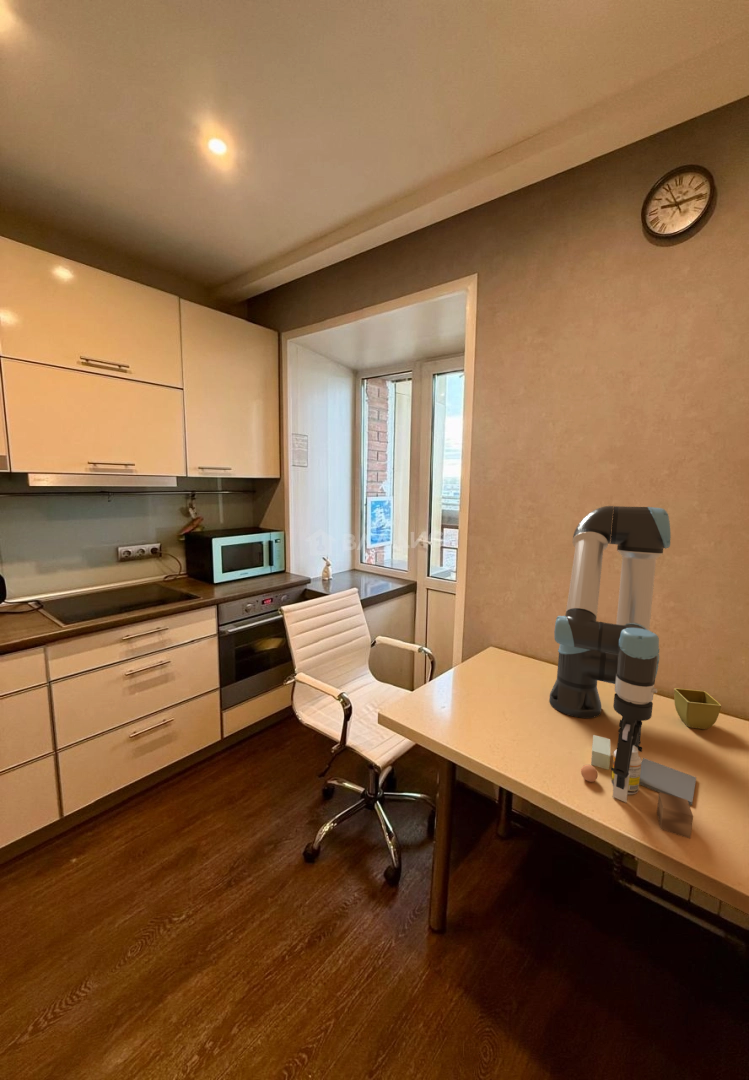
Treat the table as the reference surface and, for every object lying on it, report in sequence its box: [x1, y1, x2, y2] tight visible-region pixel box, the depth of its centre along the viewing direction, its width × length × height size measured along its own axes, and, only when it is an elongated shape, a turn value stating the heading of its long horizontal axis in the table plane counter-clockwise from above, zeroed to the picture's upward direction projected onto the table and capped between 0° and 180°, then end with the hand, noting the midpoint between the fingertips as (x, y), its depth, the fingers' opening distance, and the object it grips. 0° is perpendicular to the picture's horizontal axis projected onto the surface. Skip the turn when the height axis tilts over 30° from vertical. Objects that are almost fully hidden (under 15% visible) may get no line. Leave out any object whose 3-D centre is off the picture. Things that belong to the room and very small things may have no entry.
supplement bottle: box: [611, 745, 642, 795], centre depth 98 cm, size 6×6×10 cm
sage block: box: [590, 734, 611, 771], centre depth 109 cm, size 4×8×4 cm, turn 151°
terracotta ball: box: [580, 764, 599, 783], centre depth 101 cm, size 4×4×4 cm
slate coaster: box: [639, 757, 697, 807], centre depth 101 cm, size 11×11×1 cm
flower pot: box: [673, 687, 722, 730], centre depth 126 cm, size 9×9×9 cm
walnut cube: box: [656, 792, 694, 839], centre depth 88 cm, size 5×5×5 cm
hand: (624, 786), depth 99 cm, fingers open, 10 cm apart
